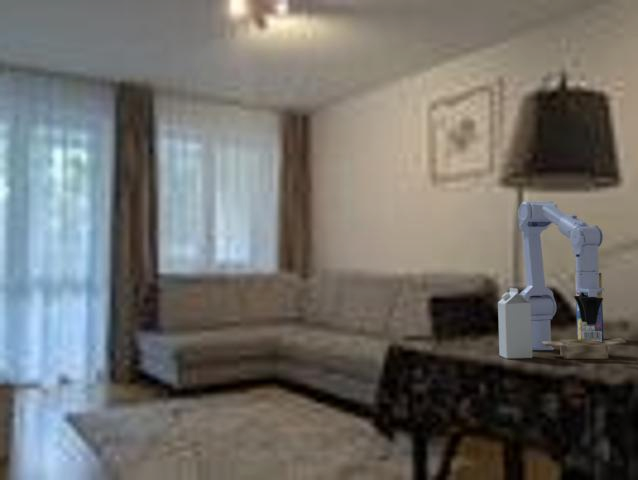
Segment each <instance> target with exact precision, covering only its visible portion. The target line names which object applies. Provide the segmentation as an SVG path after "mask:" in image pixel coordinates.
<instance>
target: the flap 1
mask: <svg viewBox="0 0 638 480" xmlns="http://www.w3.org/2000/svg"><path fill="white" fill-rule="evenodd" d="M566 346H611V345H610V343H604V342H602V343H568V344H566Z"/></svg>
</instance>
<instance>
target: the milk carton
mask: <svg viewBox="0 0 638 480" xmlns="http://www.w3.org/2000/svg"><path fill="white" fill-rule="evenodd" d="M497 309H498V310H497V312H498V345H499V347H498V349H499V350H498V351H499V356H501V357H503V358H504V359H509V360H510V359H533V350H532V324H531V303H530V302H529V301H528V300H526V299H525V298H524V297H523V296H522V295H520V292H519V289H518V288H514V287H509V292H508V291H507V292H504V293H503V295H501V299H500V300H499V301H498V302H497Z"/></svg>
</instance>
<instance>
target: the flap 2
mask: <svg viewBox="0 0 638 480" xmlns="http://www.w3.org/2000/svg"><path fill="white" fill-rule="evenodd" d="M602 343H610V345H609V346H612V345H621V344H627V341H626V340H624V339H622V338H620V337H619V338H612V339H607V340H606V339H604V341H603V342H602Z"/></svg>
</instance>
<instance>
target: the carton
mask: <svg viewBox="0 0 638 480" xmlns="http://www.w3.org/2000/svg"><path fill="white" fill-rule="evenodd" d="M542 343H543V344H544V345H545V346H552V347H560V348H559V349H560V350H559V351H560V356H561V358H563V359H564V360H609V347H608V346H609V345H607V346H566V344H568V343H603V342H600V341H599V340H597V339H578V338H577V339H571V338H569V339H567V338H566V339H565V338H564V339H561V338H560V339H558V341H557V340H556V341H552V340H551V341H542Z"/></svg>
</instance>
